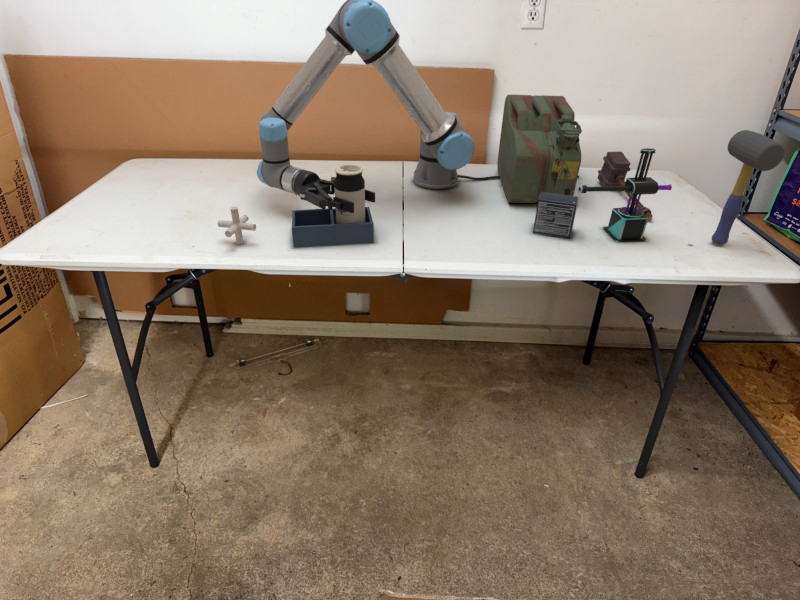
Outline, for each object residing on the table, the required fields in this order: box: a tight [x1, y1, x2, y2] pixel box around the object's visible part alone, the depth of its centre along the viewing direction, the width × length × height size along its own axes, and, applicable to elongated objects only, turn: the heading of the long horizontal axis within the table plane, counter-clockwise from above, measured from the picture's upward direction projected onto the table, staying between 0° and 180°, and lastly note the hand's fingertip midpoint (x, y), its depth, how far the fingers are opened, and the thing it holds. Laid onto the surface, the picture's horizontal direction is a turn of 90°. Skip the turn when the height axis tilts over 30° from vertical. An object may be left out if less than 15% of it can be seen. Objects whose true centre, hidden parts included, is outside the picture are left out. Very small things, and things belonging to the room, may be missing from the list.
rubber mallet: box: [711, 129, 786, 247], centre depth 136 cm, size 12×8×30 cm, turn 5°
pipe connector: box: [217, 206, 257, 245], centre depth 138 cm, size 10×10×10 cm
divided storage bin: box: [291, 206, 375, 248], centre depth 143 cm, size 21×11×6 cm, turn 99°
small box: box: [531, 192, 579, 240], centre depth 146 cm, size 11×6×10 cm, turn 71°
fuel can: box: [496, 94, 583, 204], centre depth 169 cm, size 19×35×27 cm, turn 178°
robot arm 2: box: [578, 147, 673, 243], centre depth 141 cm, size 25×9×24 cm, turn 96°
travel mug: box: [334, 163, 366, 224], centre depth 140 cm, size 8×8×18 cm
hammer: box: [597, 151, 654, 221], centre depth 167 cm, size 7×33×10 cm, turn 5°
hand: (363, 202), depth 137 cm, fingers open, 8 cm apart
